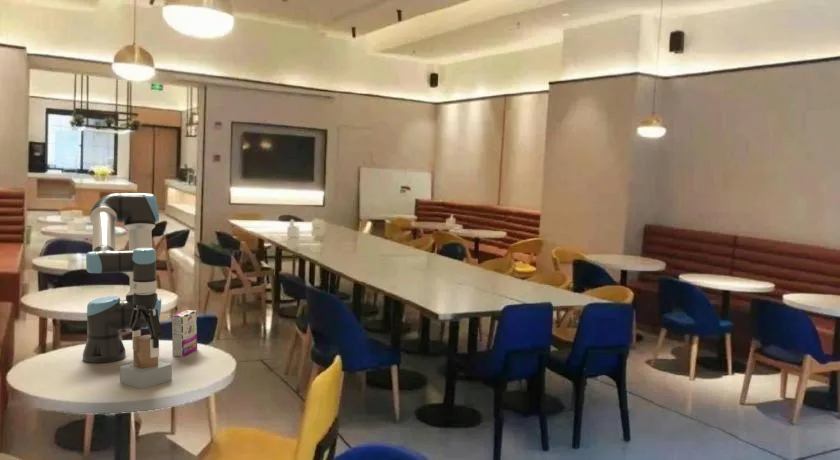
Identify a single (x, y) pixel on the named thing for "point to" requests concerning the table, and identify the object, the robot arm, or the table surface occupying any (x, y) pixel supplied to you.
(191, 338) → the candy bar box
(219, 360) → the table surface
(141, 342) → the walnut block
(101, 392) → the table surface
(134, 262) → the robot arm
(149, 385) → the slate base block
